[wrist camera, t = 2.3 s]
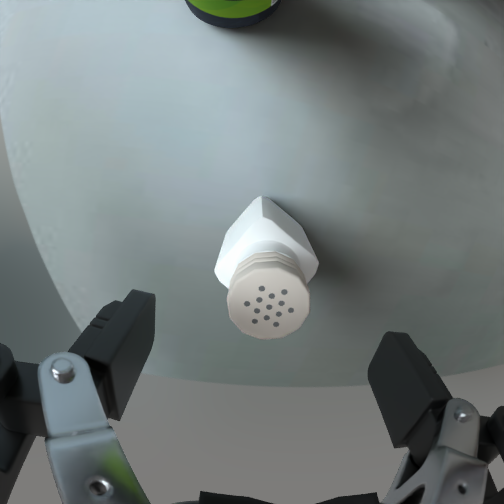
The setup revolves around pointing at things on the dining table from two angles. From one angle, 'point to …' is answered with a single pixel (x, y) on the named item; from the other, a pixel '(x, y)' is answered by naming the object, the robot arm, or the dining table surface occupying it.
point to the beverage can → (232, 11)
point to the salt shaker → (266, 271)
